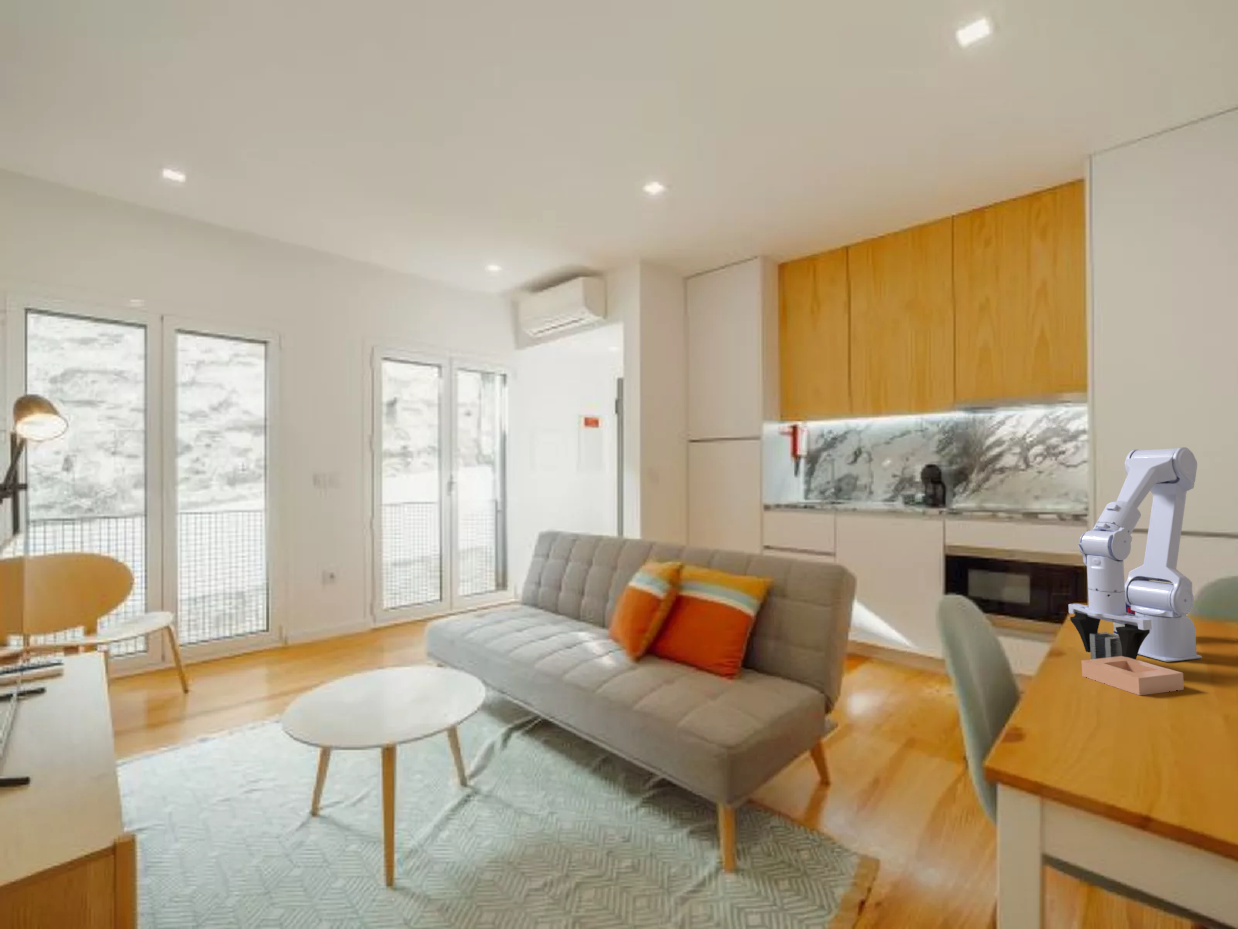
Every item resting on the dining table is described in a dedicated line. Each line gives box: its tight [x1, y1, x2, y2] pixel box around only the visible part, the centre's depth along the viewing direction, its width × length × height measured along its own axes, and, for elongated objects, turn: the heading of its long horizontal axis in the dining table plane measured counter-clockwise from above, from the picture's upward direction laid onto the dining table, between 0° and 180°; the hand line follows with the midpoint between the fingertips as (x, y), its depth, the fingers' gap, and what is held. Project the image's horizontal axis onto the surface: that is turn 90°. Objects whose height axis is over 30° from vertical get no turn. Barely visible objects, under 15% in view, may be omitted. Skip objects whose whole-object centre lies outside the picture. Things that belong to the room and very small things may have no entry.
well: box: [1081, 656, 1185, 696], centre depth 104 cm, size 10×10×3 cm
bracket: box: [1090, 631, 1122, 659], centre depth 114 cm, size 4×4×6 cm
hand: (1109, 656), depth 114 cm, fingers open, 7 cm apart
